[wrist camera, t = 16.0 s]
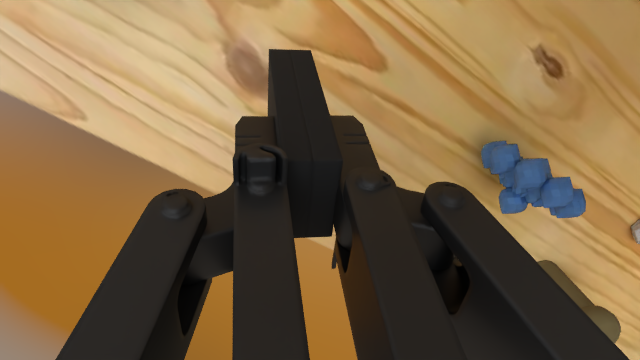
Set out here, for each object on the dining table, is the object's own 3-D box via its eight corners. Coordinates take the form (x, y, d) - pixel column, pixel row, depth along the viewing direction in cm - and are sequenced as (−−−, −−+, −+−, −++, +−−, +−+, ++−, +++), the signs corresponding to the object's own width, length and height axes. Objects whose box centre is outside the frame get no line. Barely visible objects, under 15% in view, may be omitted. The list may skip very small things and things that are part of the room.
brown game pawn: (509, 284, 57) (573, 346, 47) (545, 252, 56) (617, 308, 46) (531, 307, 59) (596, 370, 50) (566, 276, 59) (639, 333, 49)
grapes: (433, 164, 47) (501, 216, 37) (474, 111, 46) (556, 149, 35) (502, 211, 52) (580, 269, 41) (541, 164, 51) (631, 212, 40)
